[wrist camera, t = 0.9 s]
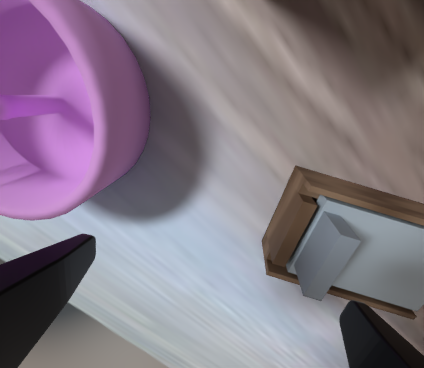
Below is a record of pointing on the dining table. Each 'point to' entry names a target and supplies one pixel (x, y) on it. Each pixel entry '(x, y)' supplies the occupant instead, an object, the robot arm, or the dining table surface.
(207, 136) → the dining table surface
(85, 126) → the container set
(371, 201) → the case
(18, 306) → the robot arm
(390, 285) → the lid
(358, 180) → the dining table surface
